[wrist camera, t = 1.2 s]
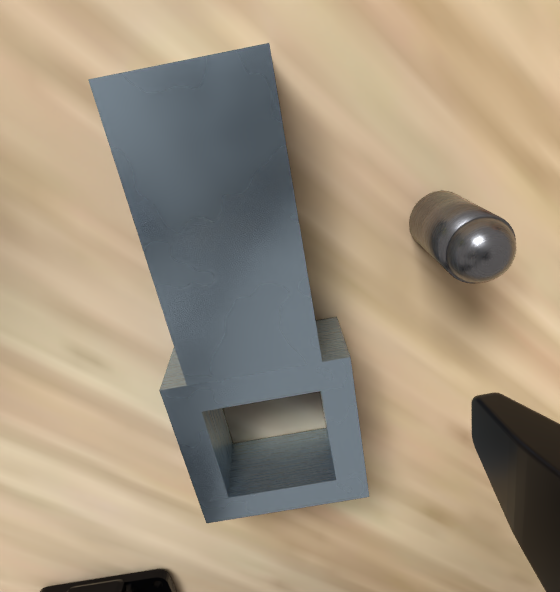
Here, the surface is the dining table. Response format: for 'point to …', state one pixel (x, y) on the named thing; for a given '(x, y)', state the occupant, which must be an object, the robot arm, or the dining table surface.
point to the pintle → (463, 237)
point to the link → (232, 280)
